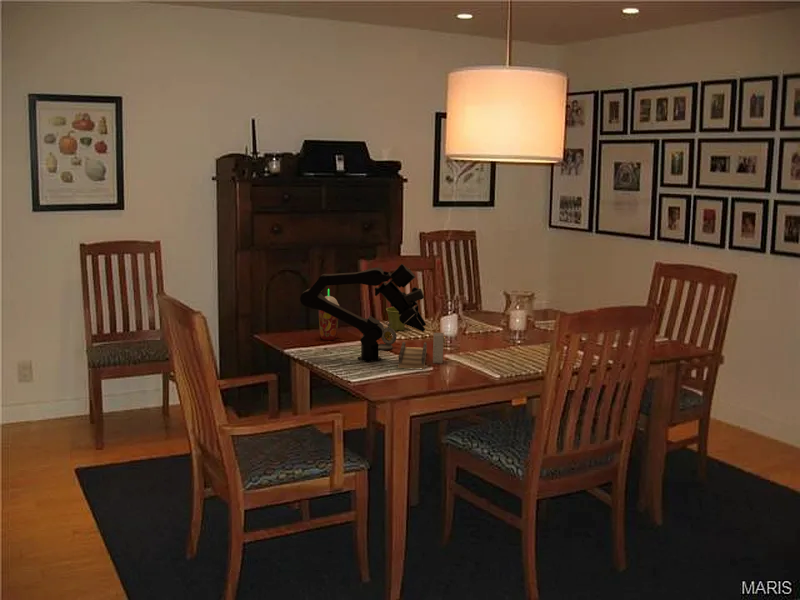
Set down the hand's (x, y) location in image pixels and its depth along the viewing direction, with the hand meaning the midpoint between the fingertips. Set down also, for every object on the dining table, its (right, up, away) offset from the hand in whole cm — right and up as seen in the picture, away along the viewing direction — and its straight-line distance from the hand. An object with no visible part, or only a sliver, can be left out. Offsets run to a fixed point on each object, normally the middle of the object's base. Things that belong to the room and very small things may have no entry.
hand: (424, 327), depth 306 cm
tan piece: (-4, -12, +3) cm, 13 cm away
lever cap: (+5, -12, +2) cm, 13 cm away
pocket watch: (-14, -9, +21) cm, 27 cm away
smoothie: (-37, -6, +35) cm, 51 cm away
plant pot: (-10, -3, +53) cm, 54 cm away
